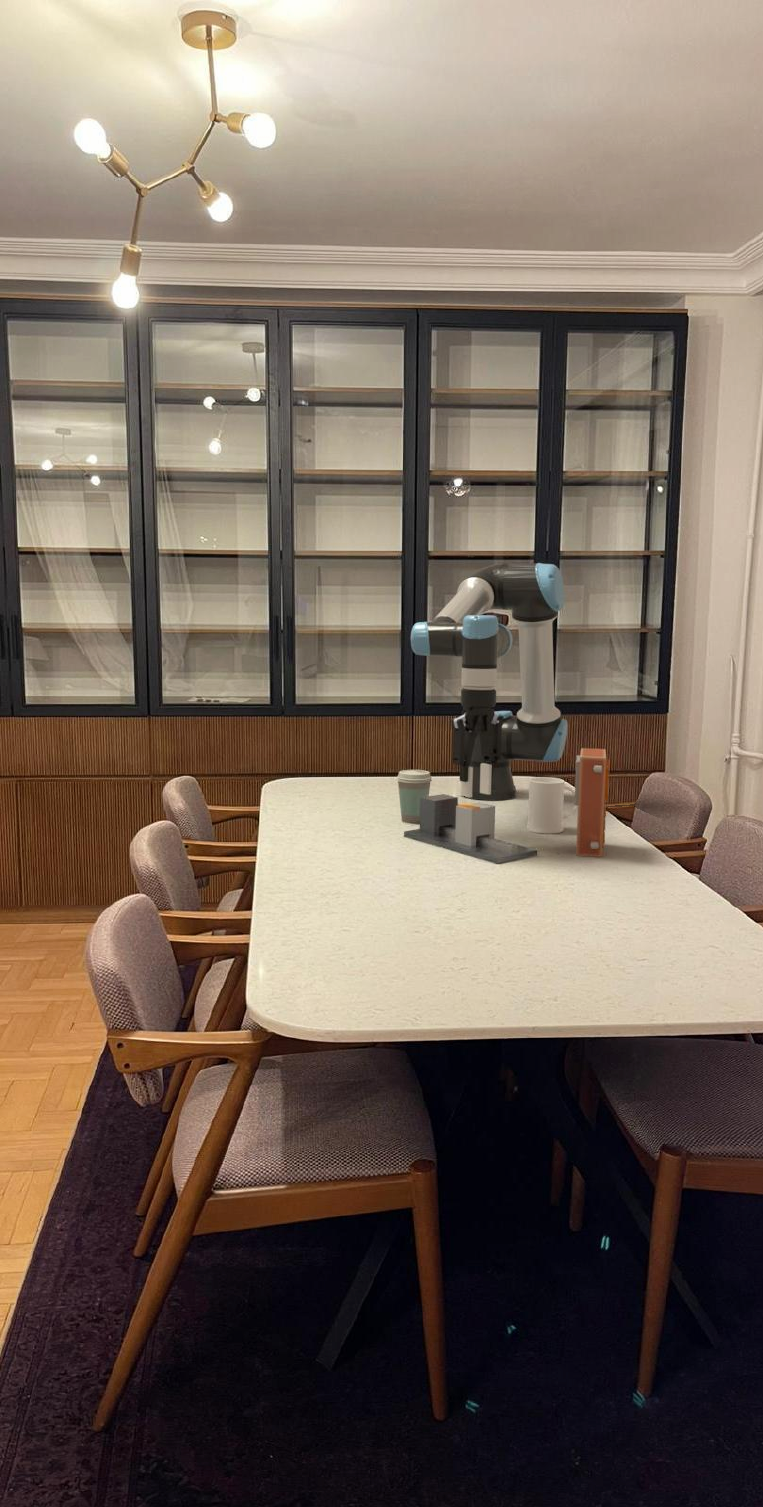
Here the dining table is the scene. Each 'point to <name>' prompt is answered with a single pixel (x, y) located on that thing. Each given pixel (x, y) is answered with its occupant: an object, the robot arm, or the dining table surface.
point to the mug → (547, 805)
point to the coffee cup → (412, 793)
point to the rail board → (471, 849)
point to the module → (474, 822)
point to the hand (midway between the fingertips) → (475, 794)
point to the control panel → (591, 800)
